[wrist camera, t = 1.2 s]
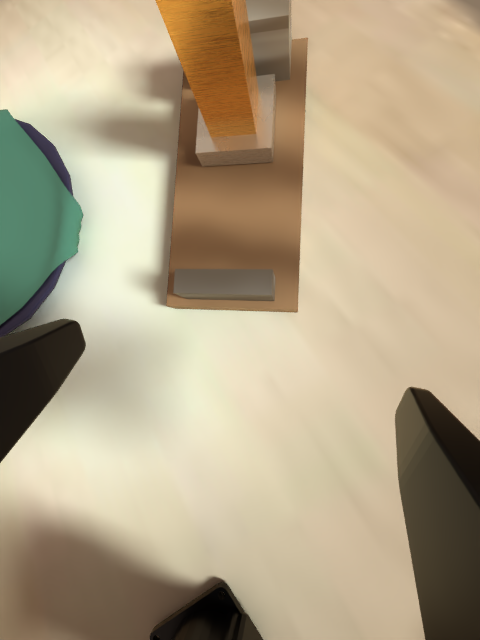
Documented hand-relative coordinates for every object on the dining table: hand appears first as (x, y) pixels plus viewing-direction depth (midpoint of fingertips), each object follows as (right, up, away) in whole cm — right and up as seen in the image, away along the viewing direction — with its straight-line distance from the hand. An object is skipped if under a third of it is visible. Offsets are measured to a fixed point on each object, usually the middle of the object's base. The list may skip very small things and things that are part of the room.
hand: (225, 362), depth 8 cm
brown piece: (0, +11, +14) cm, 18 cm away
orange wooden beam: (0, +18, +13) cm, 22 cm away
